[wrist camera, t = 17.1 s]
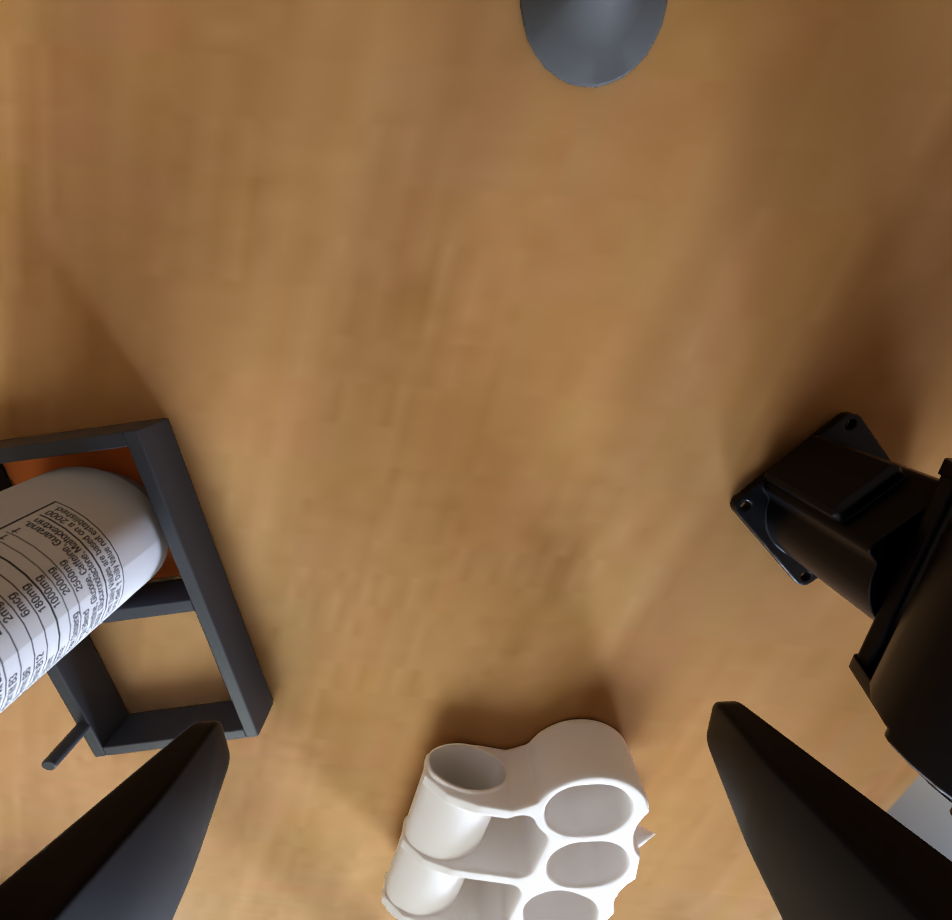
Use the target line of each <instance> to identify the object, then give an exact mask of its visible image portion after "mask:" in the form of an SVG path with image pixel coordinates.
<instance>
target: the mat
mask: <svg viewBox="0 0 952 920" xmlns="http://www.w3.org/2000/svg"><path fill="white" fill-rule="evenodd" d="M3 465H4V467H5V468H6V470H7V472H8V474H9V476H10V478H11V480H12V482H13V484H14V486H15V485H17V484H20V483H22V482H25V481H27V480H29V479H32V478H34V477H37V476H39V475H42V474H44V473H46V472H49V471H51V470H55V469H59V468H63V467H76V466H81V467H89V468H95V469H99V470H102V471H108V472H113V473H117V474H120V475H123V476H126V477H128V478H130V479H132V480H134V481H136V482H137V483H139V484H140V485H142V486H143V487H144V485H143V482H142V480H141V477H140V475H139V472H138V470H137V467H136V465H135V463H134V460H133V458H132V455H131V453H130V450H129V448H128V446H127V447H120V448H113V449H105V450H98V451H91V452H83V453H76V454H68V455H61V456H54V457H46V458H39V459H31V460H24V461H17V462H9V463H3ZM178 575H180V573H179V570H178V568H177V565H176V563H175V560H174V558H173V555H172V553H171V551H170V548H169V546H168V549H167V556H166V558H165V561H164V563H163V565H162V567H161V568H160V569H159V571H158V572H157V573H156V574H155V575H154V576H153V577H152V578H151V579H155V578H163V577H170V576H178Z"/></svg>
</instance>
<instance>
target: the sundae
mask: <svg viewBox="0 0 952 920" xmlns="http://www.w3.org/2000/svg"><path fill="white" fill-rule="evenodd" d="M666 3H667V0H520V8H521V14H522V20H523V25H524V29H525V32H526V36H527V39H528V42H529V44H530V46H531V47H532V49H533V51H534V53H535V55H536V56H537V57H538V59H539V60H540V62H541V63H542V64H543V66H544V67H545V68H546V69H547V70H548V71H550V72H551V73H552V74H553V75H555V76H556V77H558V78H559V79H561V80H563V81H565V82H566V83H568V84H571V85H576V86H581V87H599V86H602V85H606V84H609V83H612V82H614V81H616V80H618V79H621V78H623V77H624V76H625V75H626V74H628V73H629V72H630V71H631V70H632V69H634V68H635V67H636V66H637V65H638V64H639V63H640V61H641V60H642V59H643V58H644V57H645V56H646V55H647V53H648V51H649V50H650V48H651V46H652V44H653V43H654V41H655V39H656V37H657V35H658V32H659V30H660V28H661V26H662V23H663V18H664V14H665V9H666Z"/></svg>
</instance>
